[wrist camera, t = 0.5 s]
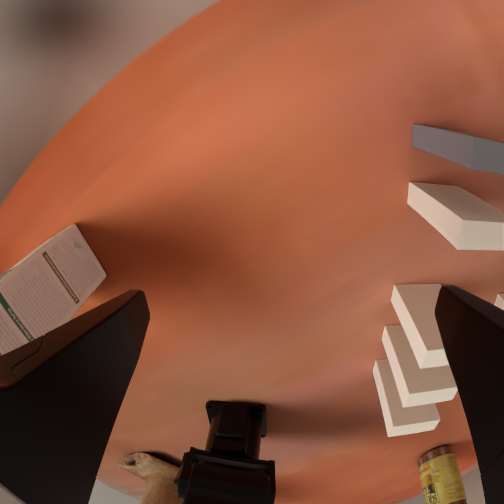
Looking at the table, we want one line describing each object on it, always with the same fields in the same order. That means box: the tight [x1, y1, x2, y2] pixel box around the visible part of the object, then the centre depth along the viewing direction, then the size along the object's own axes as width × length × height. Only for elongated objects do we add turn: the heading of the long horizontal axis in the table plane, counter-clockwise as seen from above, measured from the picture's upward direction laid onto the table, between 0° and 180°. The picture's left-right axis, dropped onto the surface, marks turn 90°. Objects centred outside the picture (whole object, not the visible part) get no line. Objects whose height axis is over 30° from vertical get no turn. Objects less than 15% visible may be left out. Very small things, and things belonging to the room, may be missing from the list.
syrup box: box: [0, 224, 106, 356], centre depth 19 cm, size 6×6×14 cm
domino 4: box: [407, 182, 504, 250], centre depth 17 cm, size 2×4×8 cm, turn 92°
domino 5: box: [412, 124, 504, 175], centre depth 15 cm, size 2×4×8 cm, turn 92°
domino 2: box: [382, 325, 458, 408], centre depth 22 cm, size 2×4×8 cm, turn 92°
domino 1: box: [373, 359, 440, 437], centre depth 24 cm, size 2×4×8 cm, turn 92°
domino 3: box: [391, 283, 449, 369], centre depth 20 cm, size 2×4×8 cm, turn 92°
